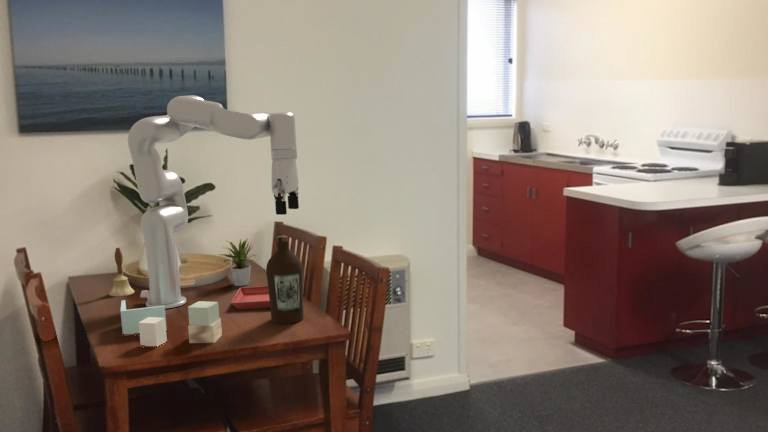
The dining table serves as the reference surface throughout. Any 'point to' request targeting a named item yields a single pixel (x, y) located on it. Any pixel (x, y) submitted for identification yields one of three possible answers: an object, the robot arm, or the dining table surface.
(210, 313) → the sage block
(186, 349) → the dining table surface
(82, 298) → the dining table surface
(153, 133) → the robot arm
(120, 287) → the hand bell
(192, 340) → the oak base block
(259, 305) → the plant saucer
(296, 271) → the olive oil
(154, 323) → the cream block
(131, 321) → the l-shaped corner panel
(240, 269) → the house plant
